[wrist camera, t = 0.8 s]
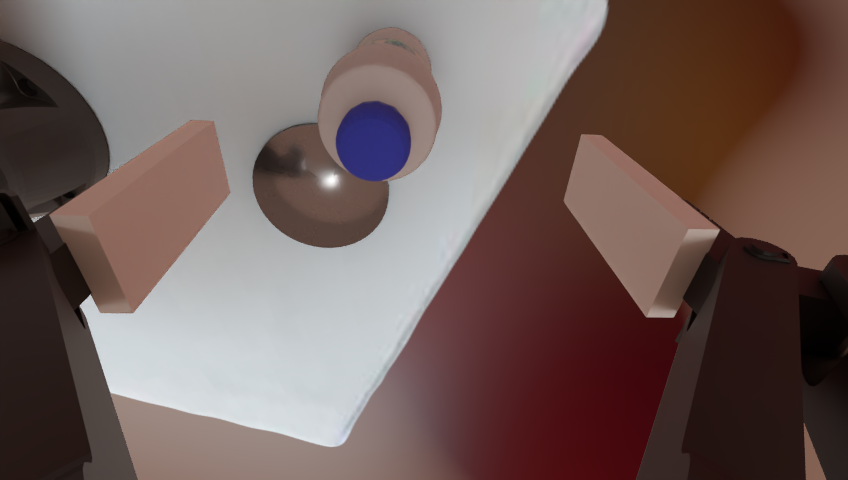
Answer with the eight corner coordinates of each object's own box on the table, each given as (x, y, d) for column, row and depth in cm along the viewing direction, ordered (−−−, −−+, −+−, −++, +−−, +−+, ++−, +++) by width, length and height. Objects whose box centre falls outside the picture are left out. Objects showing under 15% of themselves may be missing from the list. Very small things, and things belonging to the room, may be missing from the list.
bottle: (432, 107, 36) (447, 220, 19) (356, 107, 36) (304, 220, 19) (433, 22, 32) (453, 67, 15) (349, 21, 32) (276, 67, 15)
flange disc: (262, 237, 43) (259, 241, 42) (248, 115, 36) (244, 118, 35) (384, 248, 44) (383, 252, 43) (393, 131, 37) (393, 134, 36)
